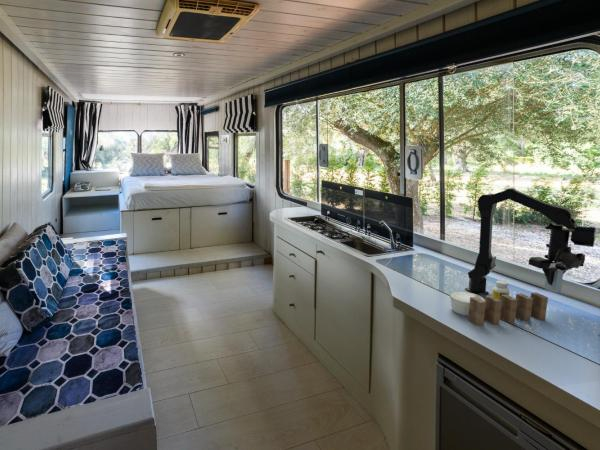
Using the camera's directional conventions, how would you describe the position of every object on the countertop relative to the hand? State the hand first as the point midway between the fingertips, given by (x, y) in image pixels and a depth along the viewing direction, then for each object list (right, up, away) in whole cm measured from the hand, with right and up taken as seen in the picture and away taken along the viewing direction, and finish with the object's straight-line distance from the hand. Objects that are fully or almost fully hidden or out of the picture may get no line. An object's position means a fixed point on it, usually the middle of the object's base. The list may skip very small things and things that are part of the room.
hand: (553, 284), depth 150 cm
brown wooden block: (-22, -10, -10) cm, 27 cm away
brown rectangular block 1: (-16, -10, -9) cm, 21 cm away
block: (0, -2, 0) cm, 2 cm away
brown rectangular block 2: (-10, -10, -8) cm, 17 cm away
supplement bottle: (-20, -9, 0) cm, 21 cm away
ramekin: (-33, -9, -3) cm, 34 cm away
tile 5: (-34, -11, -13) cm, 38 cm away
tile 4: (-28, -11, -12) cm, 32 cm away
